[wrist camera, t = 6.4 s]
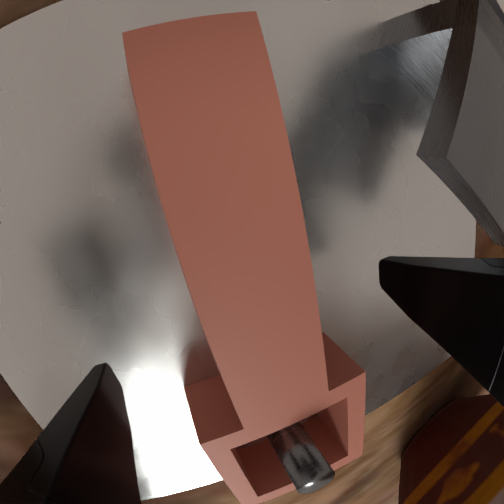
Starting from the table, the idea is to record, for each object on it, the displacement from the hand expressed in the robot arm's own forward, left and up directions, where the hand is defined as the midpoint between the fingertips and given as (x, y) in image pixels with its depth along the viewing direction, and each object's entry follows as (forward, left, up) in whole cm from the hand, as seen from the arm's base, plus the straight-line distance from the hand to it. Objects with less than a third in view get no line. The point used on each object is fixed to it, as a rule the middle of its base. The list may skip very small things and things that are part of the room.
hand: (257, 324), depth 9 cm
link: (0, 0, -2) cm, 2 cm away
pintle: (-6, 0, -2) cm, 6 cm away
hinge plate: (+1, -2, -2) cm, 3 cm away
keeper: (+5, -9, -2) cm, 10 cm away
